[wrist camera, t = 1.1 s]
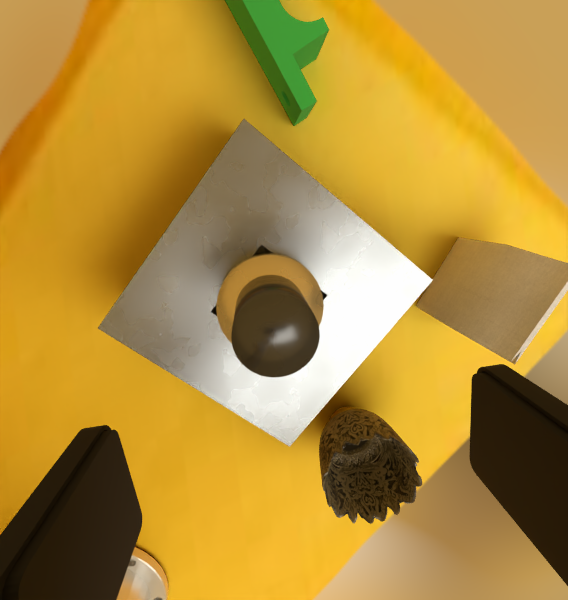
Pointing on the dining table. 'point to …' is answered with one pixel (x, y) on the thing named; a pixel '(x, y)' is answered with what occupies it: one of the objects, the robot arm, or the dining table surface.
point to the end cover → (271, 313)
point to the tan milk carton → (495, 294)
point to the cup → (365, 466)
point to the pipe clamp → (282, 50)
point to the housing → (248, 242)
